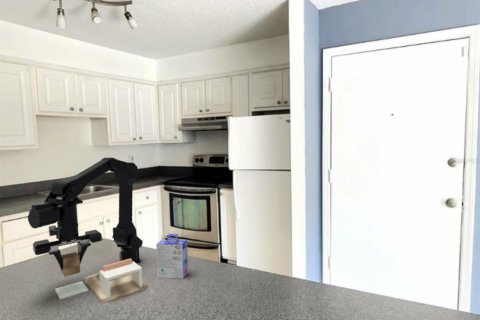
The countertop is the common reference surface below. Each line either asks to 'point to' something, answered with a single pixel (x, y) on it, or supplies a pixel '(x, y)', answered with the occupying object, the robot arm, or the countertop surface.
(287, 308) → the countertop surface
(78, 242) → the robot arm
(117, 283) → the puzzle board
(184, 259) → the ink cartridge box
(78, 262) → the walnut block
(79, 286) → the coaster pad
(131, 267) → the panel
